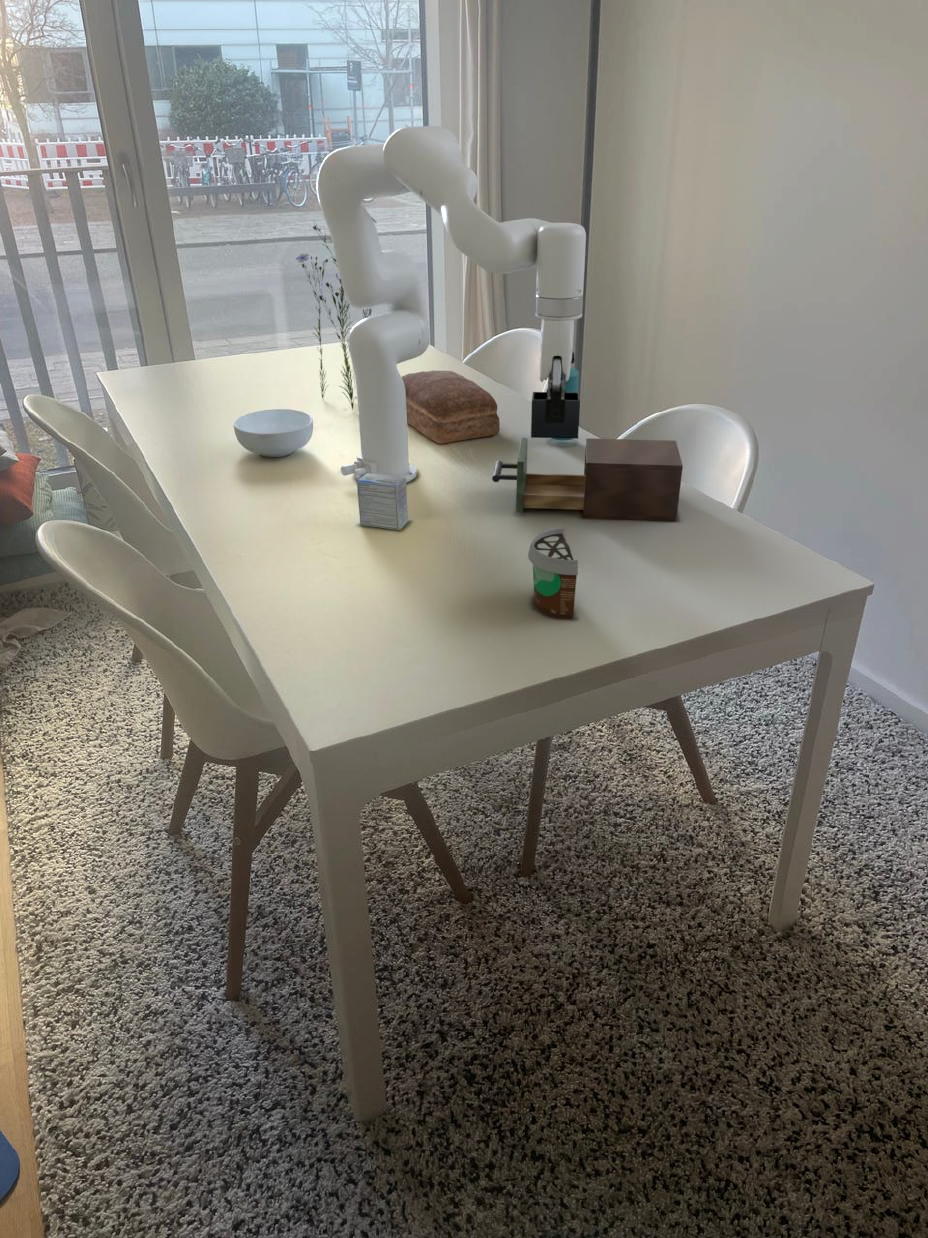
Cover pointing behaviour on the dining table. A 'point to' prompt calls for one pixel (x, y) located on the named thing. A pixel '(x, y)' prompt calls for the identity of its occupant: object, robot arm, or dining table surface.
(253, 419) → the cereal bowl
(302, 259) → the wildflower
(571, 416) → the dark glass display case
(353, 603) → the dining table surface
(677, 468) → the cabinet
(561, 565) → the food container
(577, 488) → the drawer
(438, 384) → the bread
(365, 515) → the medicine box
